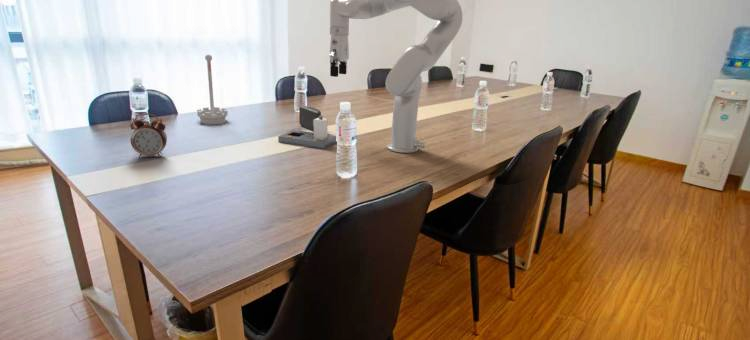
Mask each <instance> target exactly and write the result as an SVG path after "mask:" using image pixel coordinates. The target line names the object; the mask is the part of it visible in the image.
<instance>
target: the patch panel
mask: <svg viewBox="0 0 750 340" xmlns="http://www.w3.org/2000/svg"><path fill="white" fill-rule="evenodd" d="M336 136H337V135H331V134H327V139H326V140H324V141H323V140H317V139H314V132H313V131H312V132H310V131H304V130H298V129H297V130H296V129H293V130H290V131H288V132H285V133H283V134H280V135H278V143H282V144H289V145H297V146H302V147H310V148H316V149H322V150H325V149H326V148H328V147H330V146H331V145H334V144H335V143H337V142H336Z"/></svg>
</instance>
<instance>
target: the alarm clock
mask: <svg viewBox="0 0 750 340" xmlns="http://www.w3.org/2000/svg"><path fill="white" fill-rule="evenodd" d="M140 116H152V117H155V119H154V120H152V122H151V123H150V121H144V120H142V119H140V118H138V117H140ZM131 120H132V121H130V124H129V128H130V129H131V130H132V133H131V136H130V145H131V147H132V148H133V150H134V151H135V152H137V154H138V155H139V156H138V158H139V159H140V158H141V156H145V157H152V156H153V157H154V156H156V155H157V156H159V158H162V156H161V155H163V151H164V149H165V148H166V147H167V146H166V145H167V141H168V137H167V133H166V131H165V130H166V123H165V122H164V121H163V118H160V119H159V117H157V115H156V114H153V113H140V114H137V115H136V116H135V118H134V117H133V118H132V119H131Z"/></svg>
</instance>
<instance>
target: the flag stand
mask: <svg viewBox="0 0 750 340" xmlns="http://www.w3.org/2000/svg"><path fill="white" fill-rule="evenodd" d="M204 58H205V60H206V64H207V65H206V66H207V67H206V68H207V77H208V78H207V79H208V91H209V104H210V105H209V107H210V108H209V107H203V108H202V109H201V108H197V109H196V113H197V117H198V118H199V121H200V123H201V124H205V125H217V124H223V123H225V122H226V117H227V116H228V110H227V108H226V107H222V108H221V109H220V106H219V107H217V106H215V105H214V89H213V77H212V76H213V75H212V73H213V72H212V62H211V61H212V60H213V56H212V55H211V54H206V55H205V56H204Z"/></svg>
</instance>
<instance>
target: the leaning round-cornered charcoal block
mask: <svg viewBox="0 0 750 340" xmlns="http://www.w3.org/2000/svg"><path fill="white" fill-rule="evenodd" d="M298 111H299V113H298V114H299V119H298V120H299V125H300V126H301V127H302V128H305V129H307V130H309V131H312V132H314V126H313V120H314V119H316V118H319V116H322V112H321V111H320V109H318V108H315V107H311V106H305V105H302V106H300V107H299V110H298Z"/></svg>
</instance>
